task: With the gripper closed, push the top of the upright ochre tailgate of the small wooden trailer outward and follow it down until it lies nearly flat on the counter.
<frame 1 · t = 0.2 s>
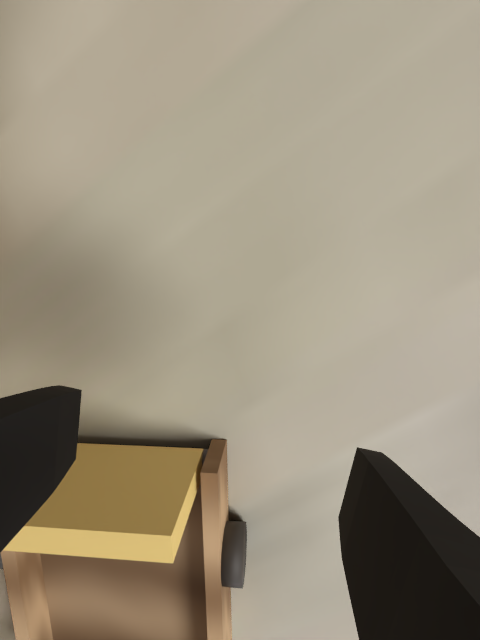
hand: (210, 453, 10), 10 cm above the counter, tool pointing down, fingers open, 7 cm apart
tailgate: (93, 487, 18), point 4 cm above the counter, hinge at 0.0°
trailer bed: (132, 553, 23), on the counter
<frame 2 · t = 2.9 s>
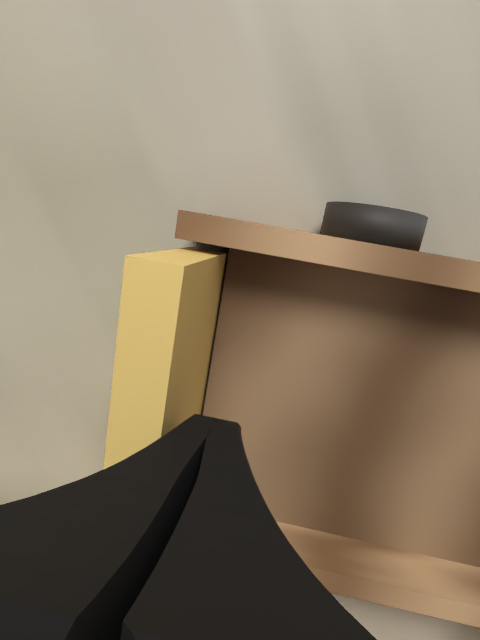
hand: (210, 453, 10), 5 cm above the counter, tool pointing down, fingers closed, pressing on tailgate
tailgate: (170, 407, 12), point 4 cm above the counter, hinge at 0.0°, touching gripper
trailer bed: (374, 404, 15), on the counter
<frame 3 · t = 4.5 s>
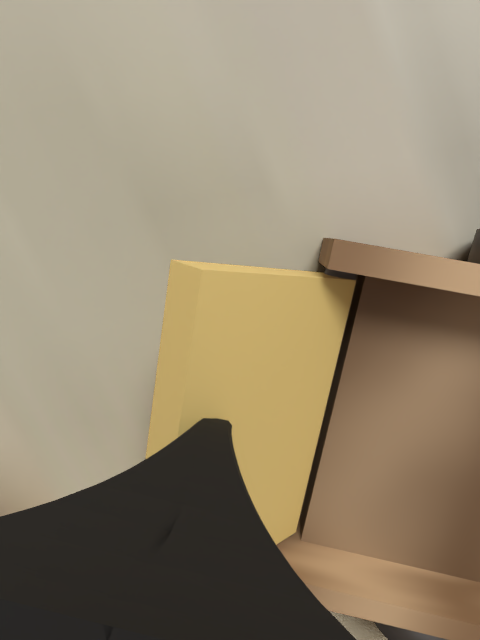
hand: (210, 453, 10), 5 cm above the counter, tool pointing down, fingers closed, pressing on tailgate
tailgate: (253, 425, 12), point 3 cm above the counter, hinge at 41.6°, touching gripper
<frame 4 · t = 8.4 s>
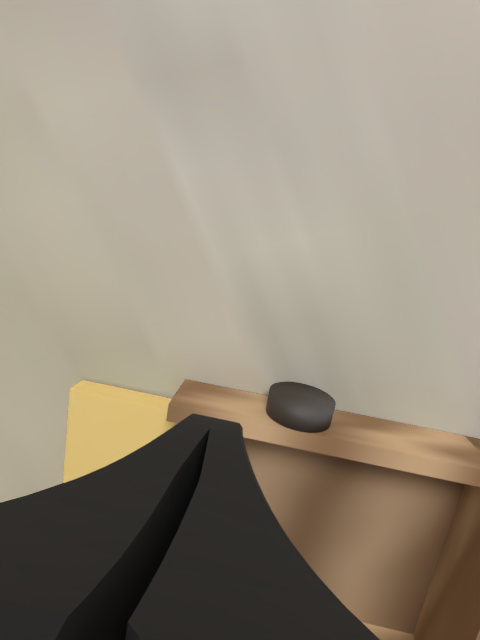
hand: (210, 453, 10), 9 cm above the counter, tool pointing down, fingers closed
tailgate: (128, 479, 20), point 1 cm above the counter, hinge at 90.3°
trailer bed: (312, 509, 20), on the counter
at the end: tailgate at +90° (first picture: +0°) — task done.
